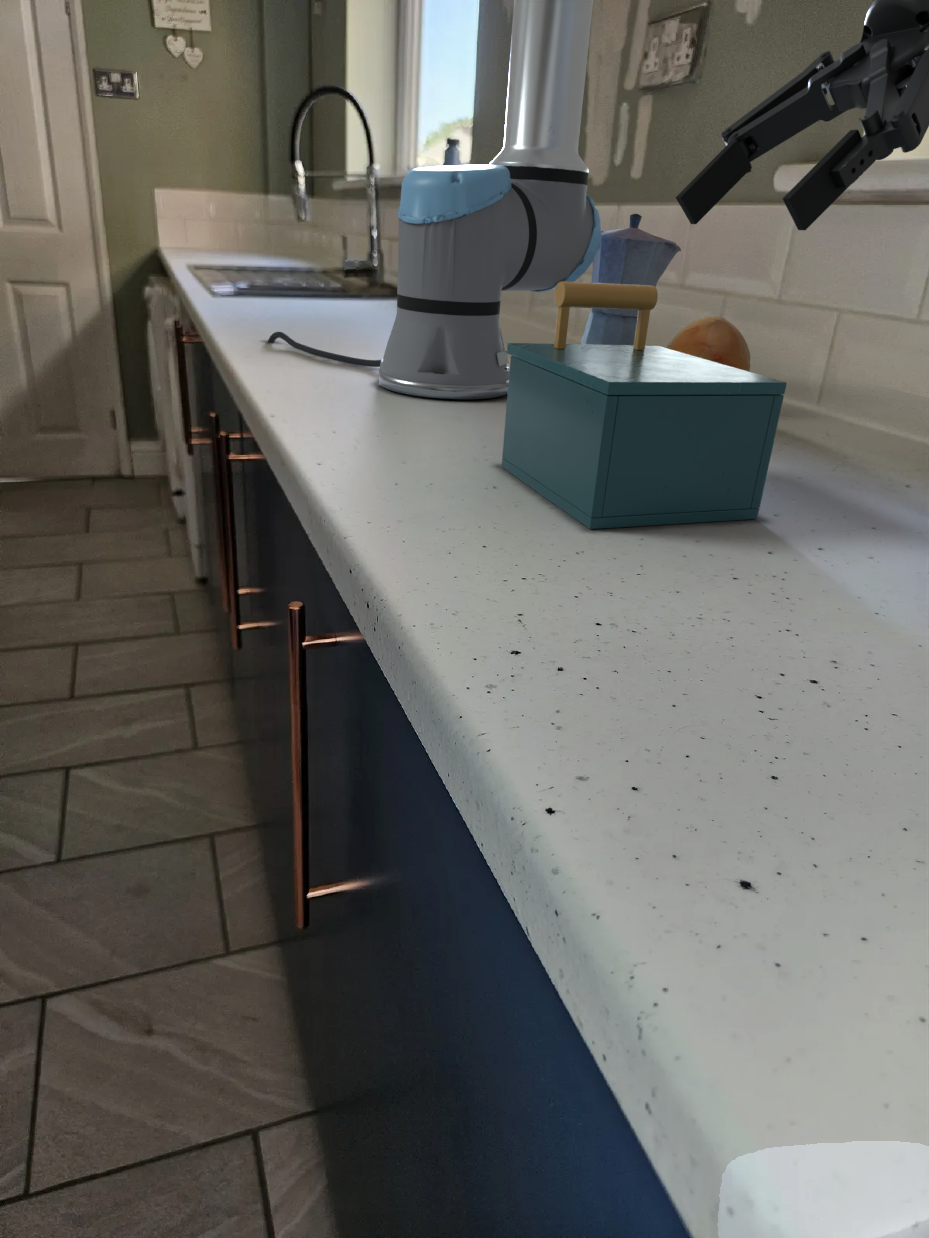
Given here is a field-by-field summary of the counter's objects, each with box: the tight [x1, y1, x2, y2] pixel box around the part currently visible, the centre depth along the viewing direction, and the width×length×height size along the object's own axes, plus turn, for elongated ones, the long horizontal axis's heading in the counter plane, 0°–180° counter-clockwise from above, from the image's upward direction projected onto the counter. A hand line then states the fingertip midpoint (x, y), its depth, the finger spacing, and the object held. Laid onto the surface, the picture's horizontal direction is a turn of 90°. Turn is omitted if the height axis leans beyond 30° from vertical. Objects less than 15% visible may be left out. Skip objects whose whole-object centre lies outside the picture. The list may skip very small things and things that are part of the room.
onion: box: [665, 315, 751, 372], centre depth 99 cm, size 10×10×10 cm
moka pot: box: [580, 213, 682, 345], centre depth 114 cm, size 10×15×20 cm, turn 78°
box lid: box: [506, 281, 787, 395], centre depth 62 cm, size 16×14×6 cm
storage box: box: [501, 355, 784, 530], centre depth 65 cm, size 16×14×9 cm
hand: (734, 213), depth 67 cm, fingers open, 13 cm apart
